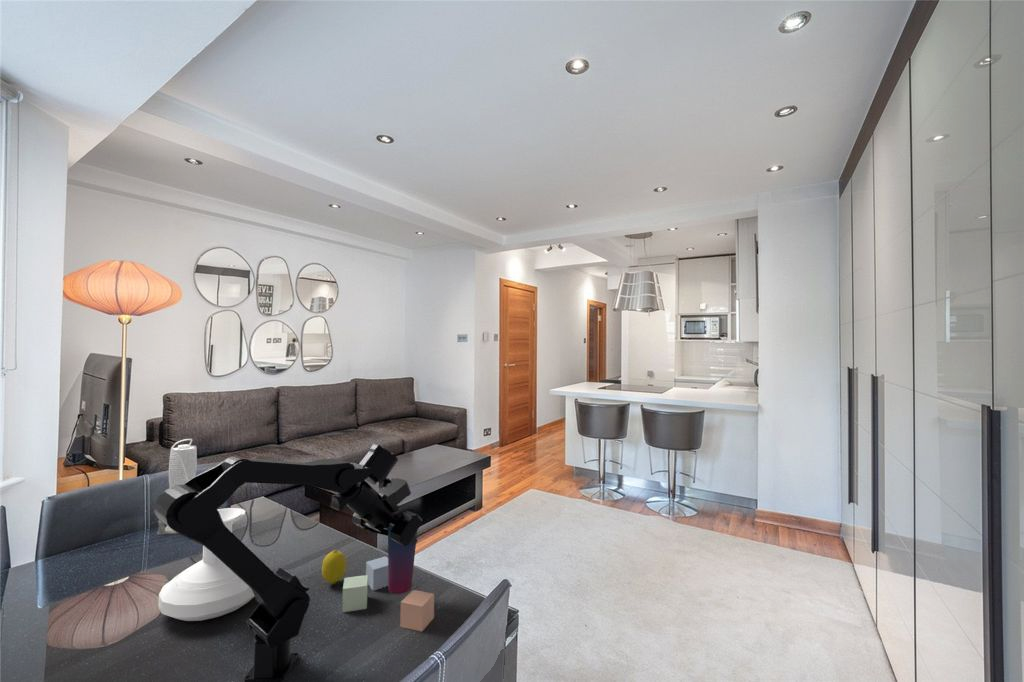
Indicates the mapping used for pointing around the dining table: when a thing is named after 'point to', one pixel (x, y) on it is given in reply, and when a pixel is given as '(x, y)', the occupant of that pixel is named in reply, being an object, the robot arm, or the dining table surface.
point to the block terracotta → (417, 610)
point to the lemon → (334, 566)
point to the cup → (400, 565)
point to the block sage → (355, 593)
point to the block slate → (377, 573)
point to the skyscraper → (180, 472)
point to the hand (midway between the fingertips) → (407, 539)
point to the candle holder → (206, 585)
